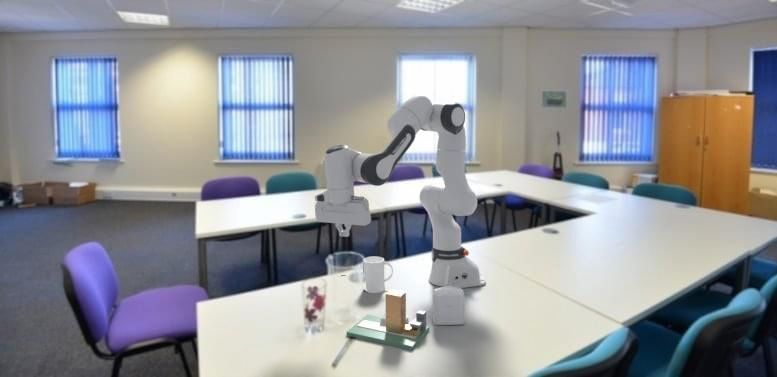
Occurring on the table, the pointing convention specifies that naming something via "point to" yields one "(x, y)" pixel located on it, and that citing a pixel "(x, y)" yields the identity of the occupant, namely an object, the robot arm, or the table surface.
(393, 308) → the tall wooden block
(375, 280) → the mug
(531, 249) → the table surface
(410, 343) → the board
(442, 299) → the photo printer
